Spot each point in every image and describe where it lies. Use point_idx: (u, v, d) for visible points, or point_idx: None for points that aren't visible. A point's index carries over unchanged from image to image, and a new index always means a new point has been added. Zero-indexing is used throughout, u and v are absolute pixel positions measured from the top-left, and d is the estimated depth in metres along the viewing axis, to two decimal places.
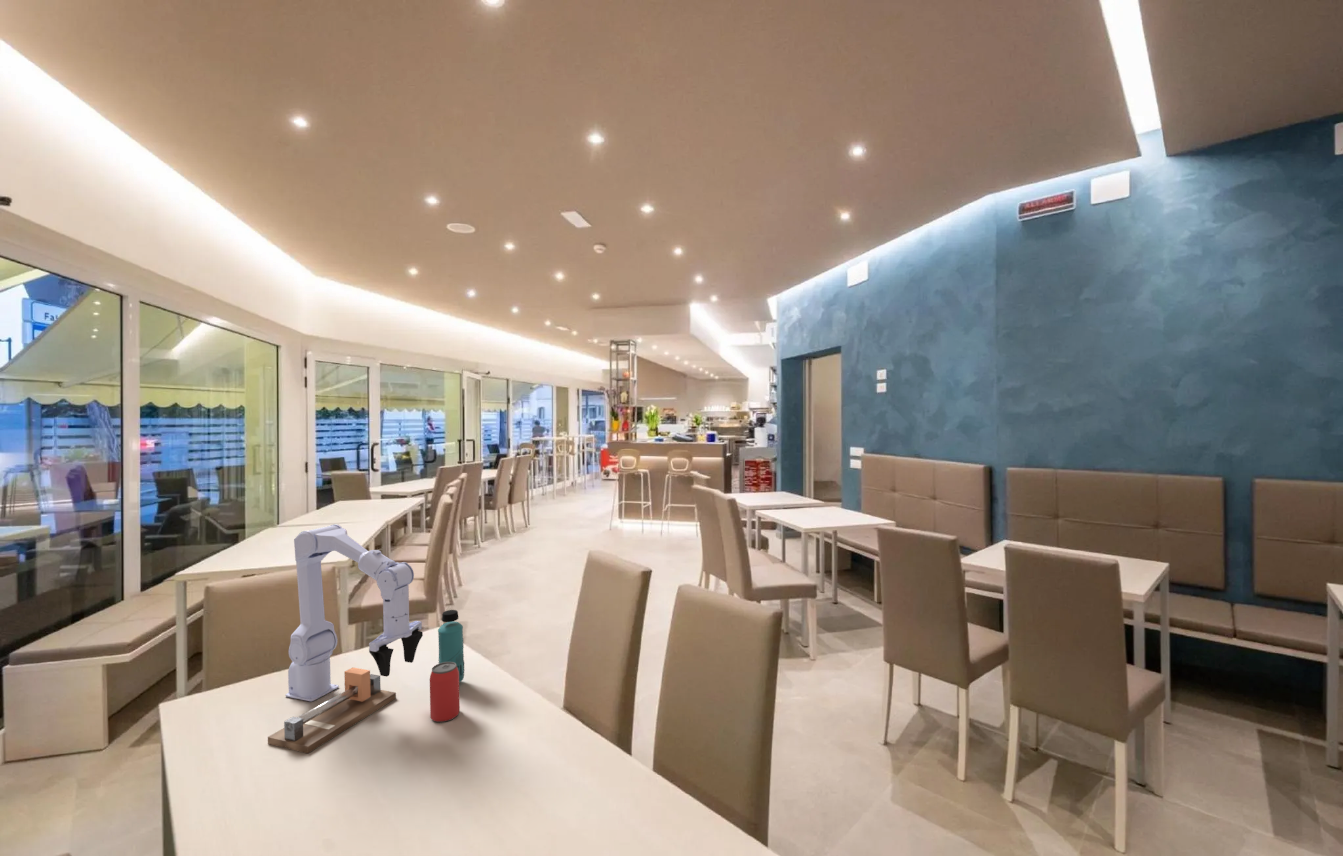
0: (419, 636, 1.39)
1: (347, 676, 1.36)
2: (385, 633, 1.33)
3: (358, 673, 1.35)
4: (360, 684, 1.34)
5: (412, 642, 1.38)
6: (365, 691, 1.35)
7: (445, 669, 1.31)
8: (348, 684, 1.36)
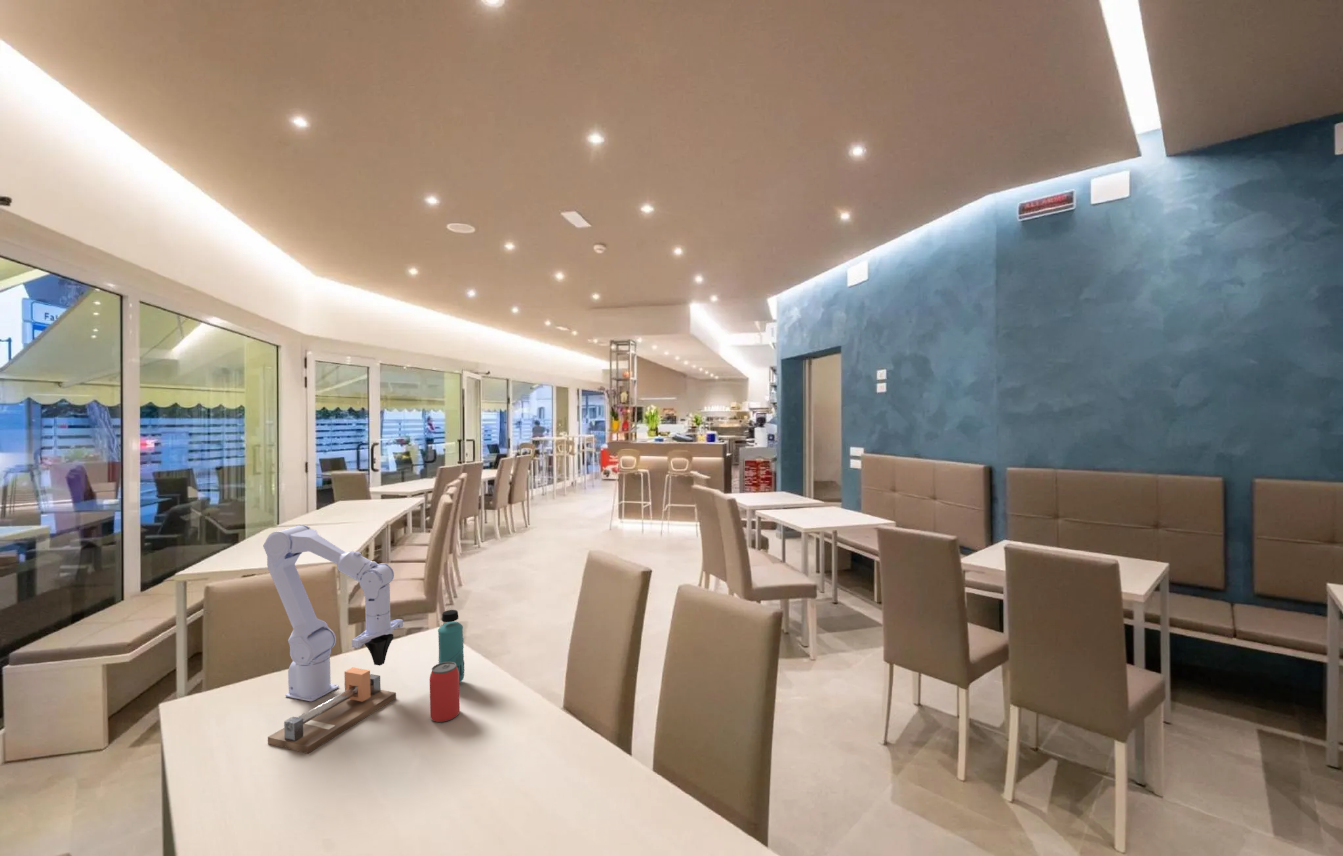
0: (390, 638, 1.43)
1: (347, 676, 1.36)
2: (367, 630, 1.40)
3: (358, 673, 1.35)
4: (360, 684, 1.34)
5: None
6: (365, 691, 1.35)
7: (445, 669, 1.31)
8: (348, 684, 1.36)
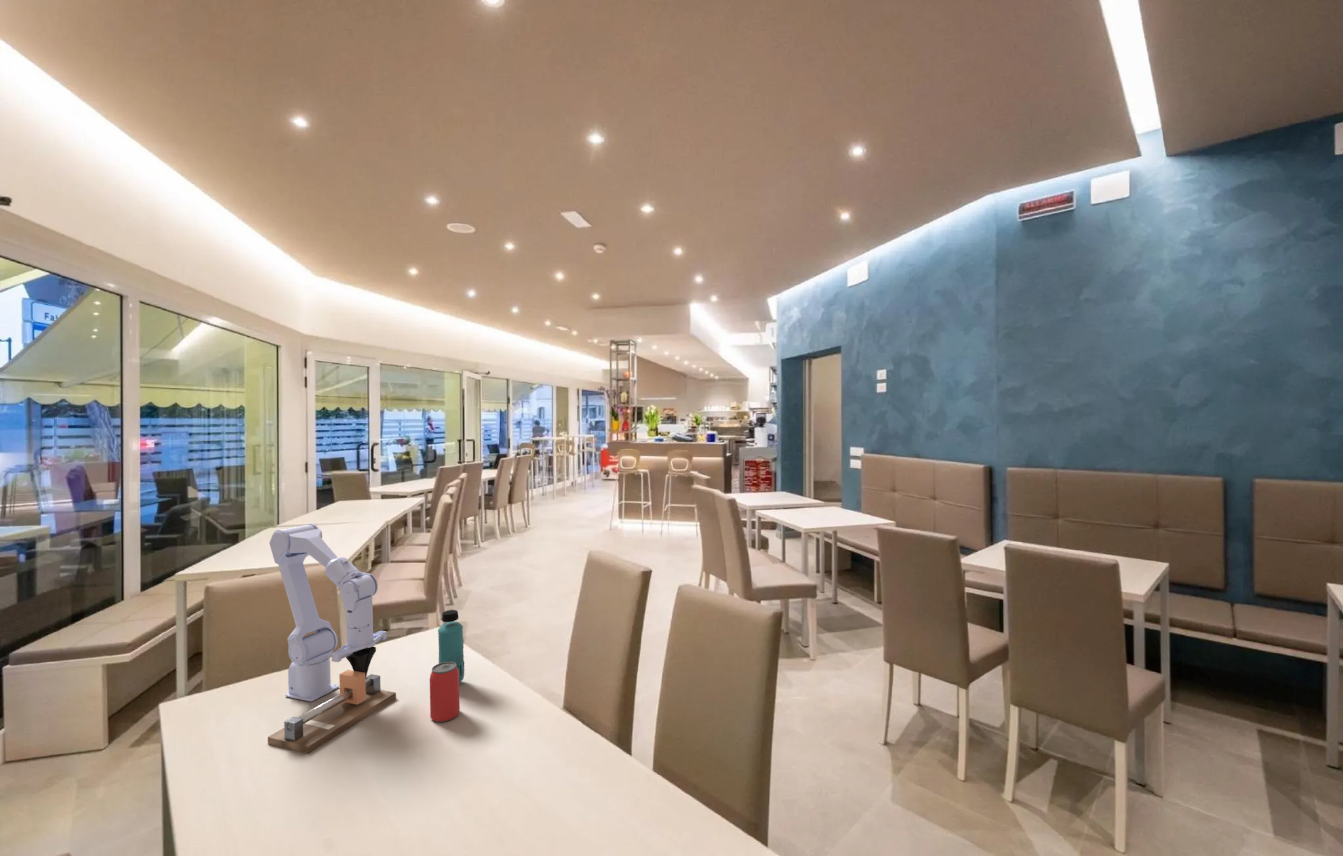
0: (372, 652, 1.37)
1: (342, 679, 1.34)
2: (348, 643, 1.35)
3: (353, 676, 1.33)
4: (355, 687, 1.33)
5: None
6: (360, 694, 1.34)
7: (445, 669, 1.31)
8: (343, 687, 1.34)
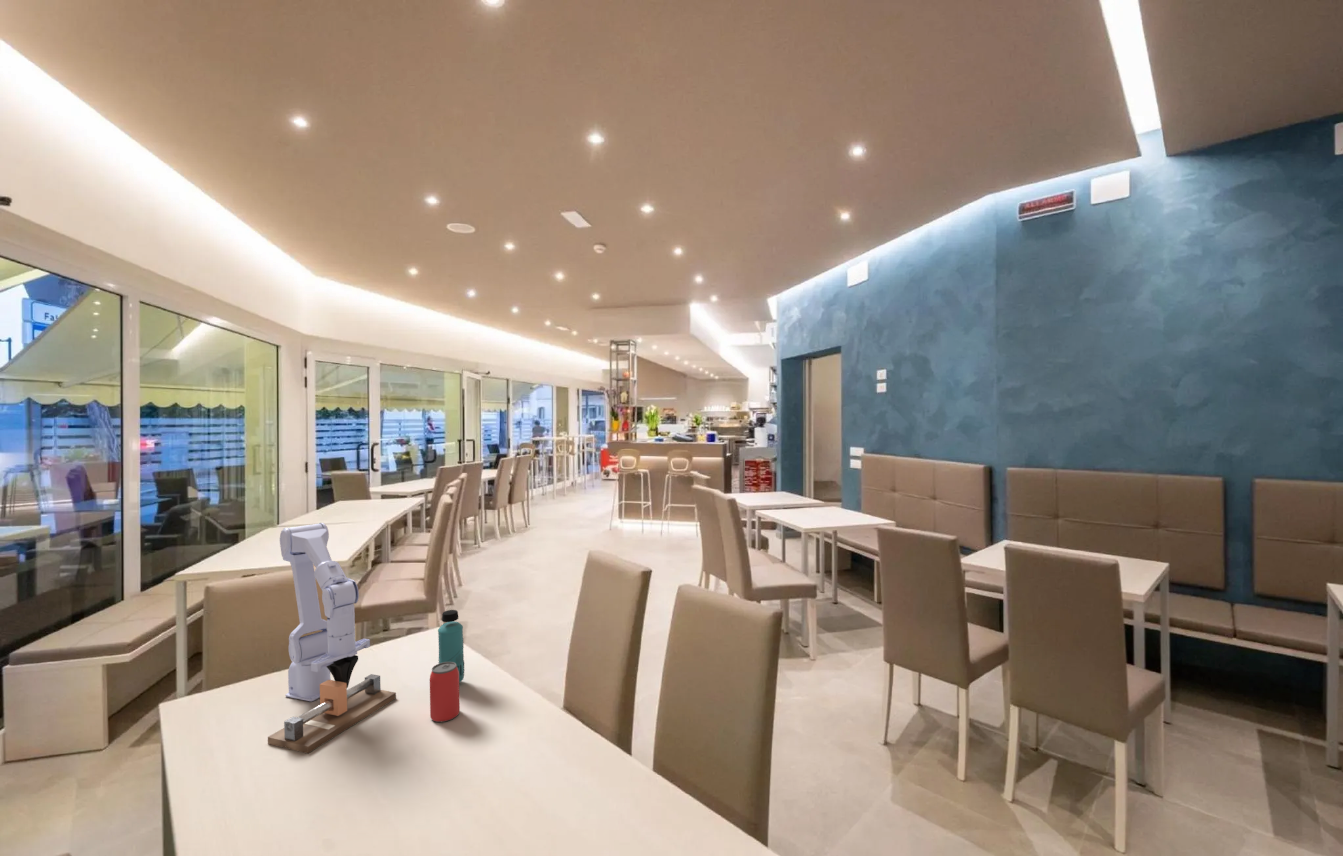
0: (354, 661, 1.32)
1: (322, 689, 1.29)
2: (329, 652, 1.30)
3: (334, 686, 1.28)
4: (336, 697, 1.28)
5: None
6: (341, 705, 1.29)
7: (445, 669, 1.31)
8: (323, 697, 1.29)
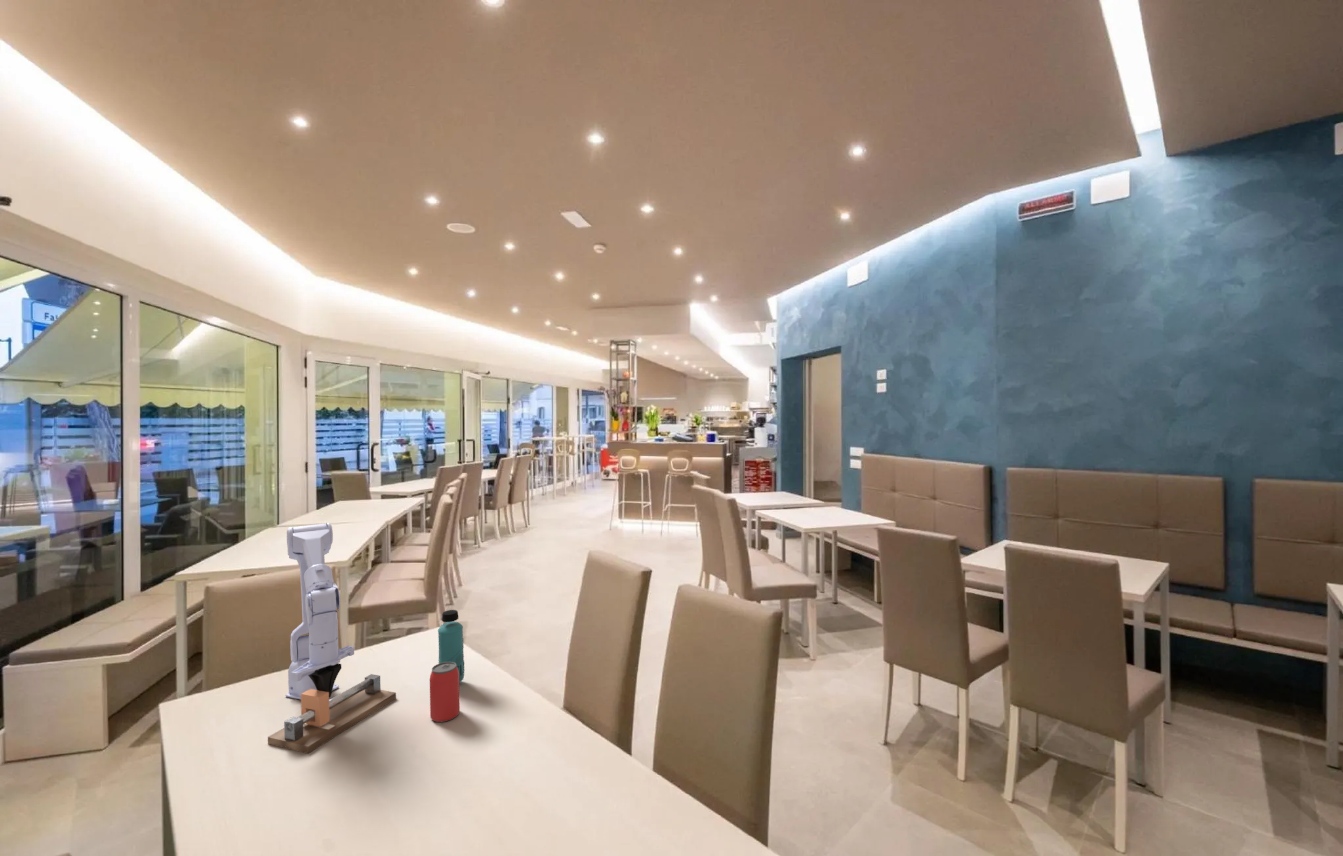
0: (337, 669, 1.28)
1: (304, 699, 1.25)
2: (311, 661, 1.25)
3: (315, 696, 1.24)
4: (317, 708, 1.24)
5: None
6: (323, 715, 1.24)
7: (445, 669, 1.31)
8: (305, 707, 1.25)
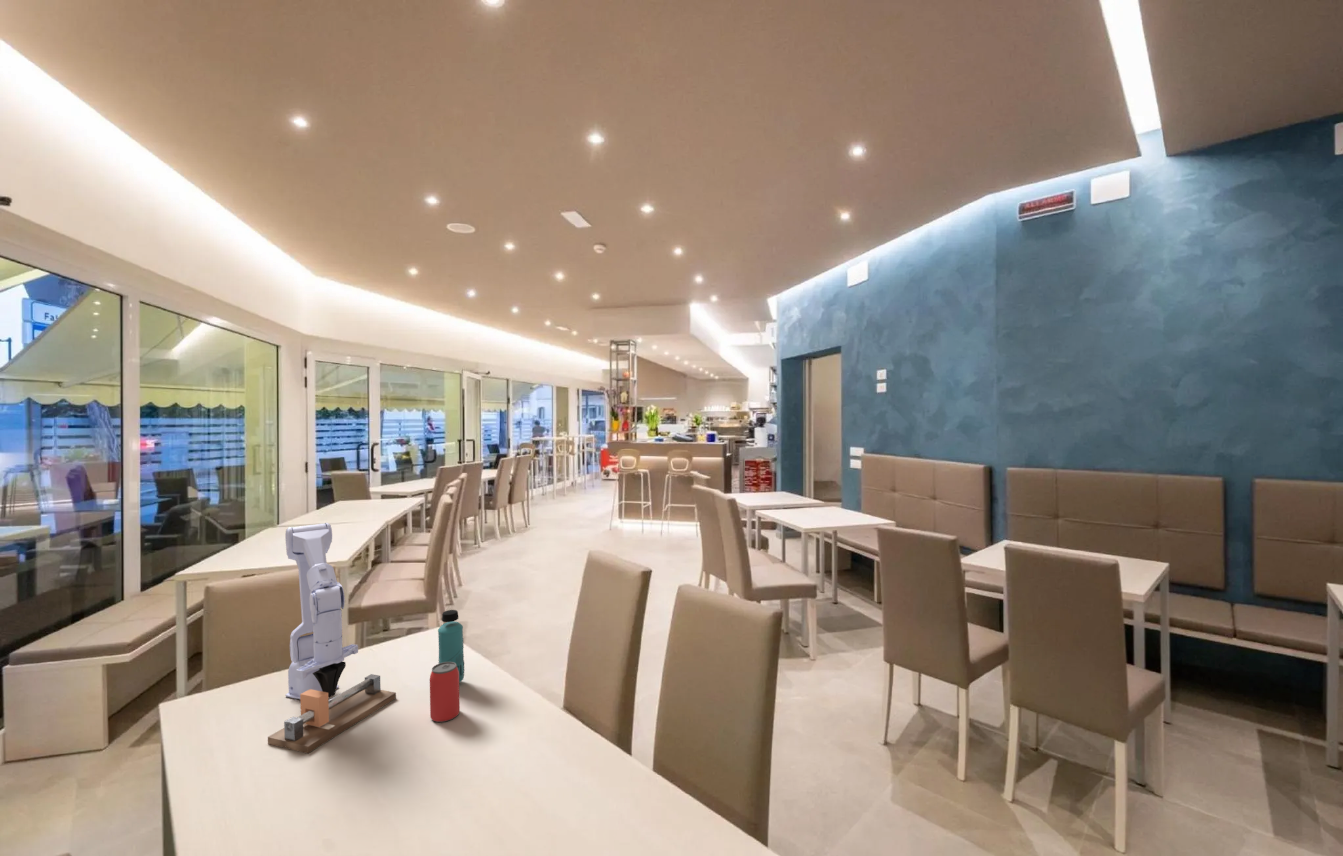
0: (341, 667, 1.29)
1: (303, 699, 1.25)
2: (315, 659, 1.26)
3: (315, 696, 1.24)
4: (317, 708, 1.24)
5: None
6: (322, 715, 1.24)
7: (445, 669, 1.31)
8: (304, 708, 1.25)
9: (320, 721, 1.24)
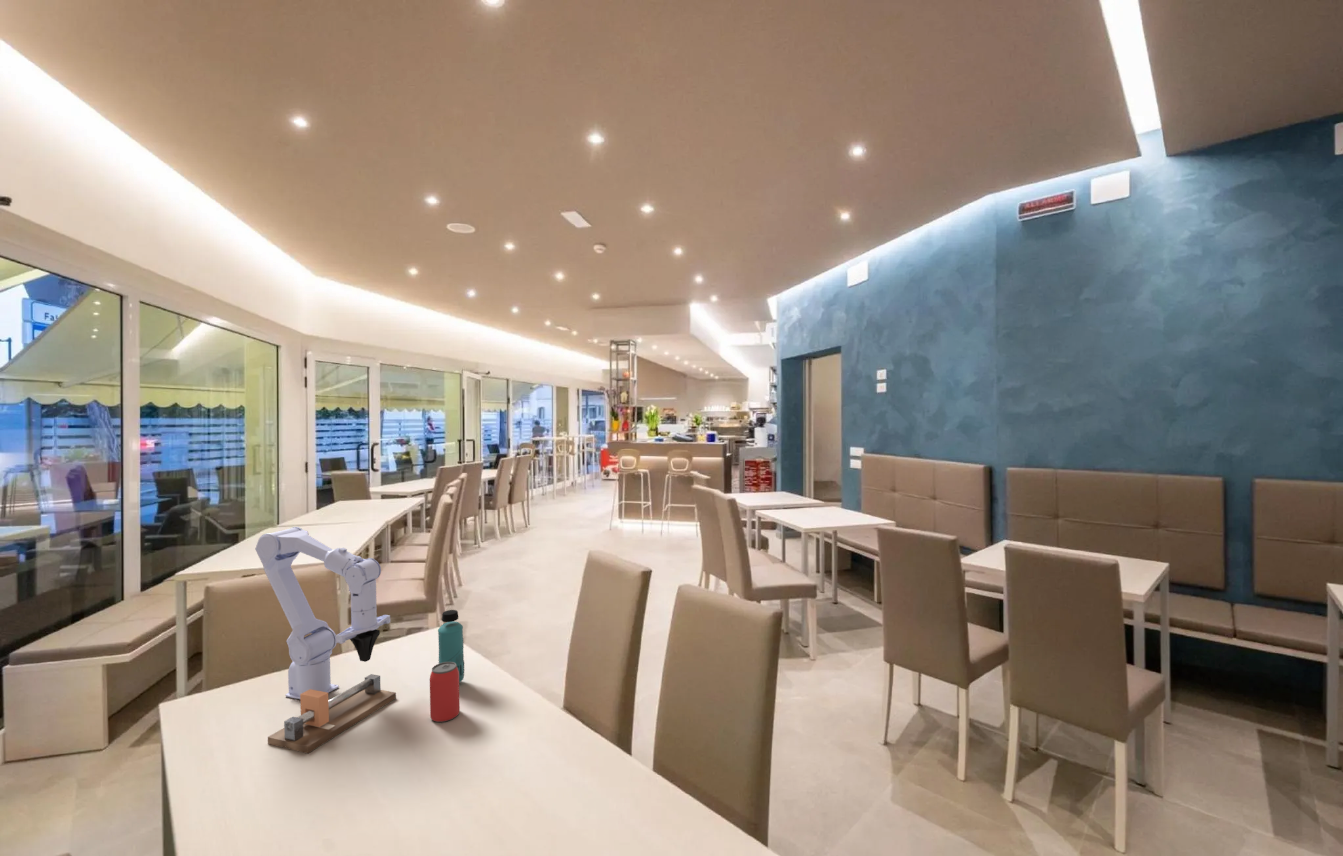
0: (376, 634, 1.41)
1: (303, 699, 1.25)
2: (352, 626, 1.38)
3: (315, 696, 1.24)
4: (317, 708, 1.24)
5: None
6: (322, 715, 1.24)
7: (445, 669, 1.31)
8: (304, 708, 1.25)
9: (320, 721, 1.24)
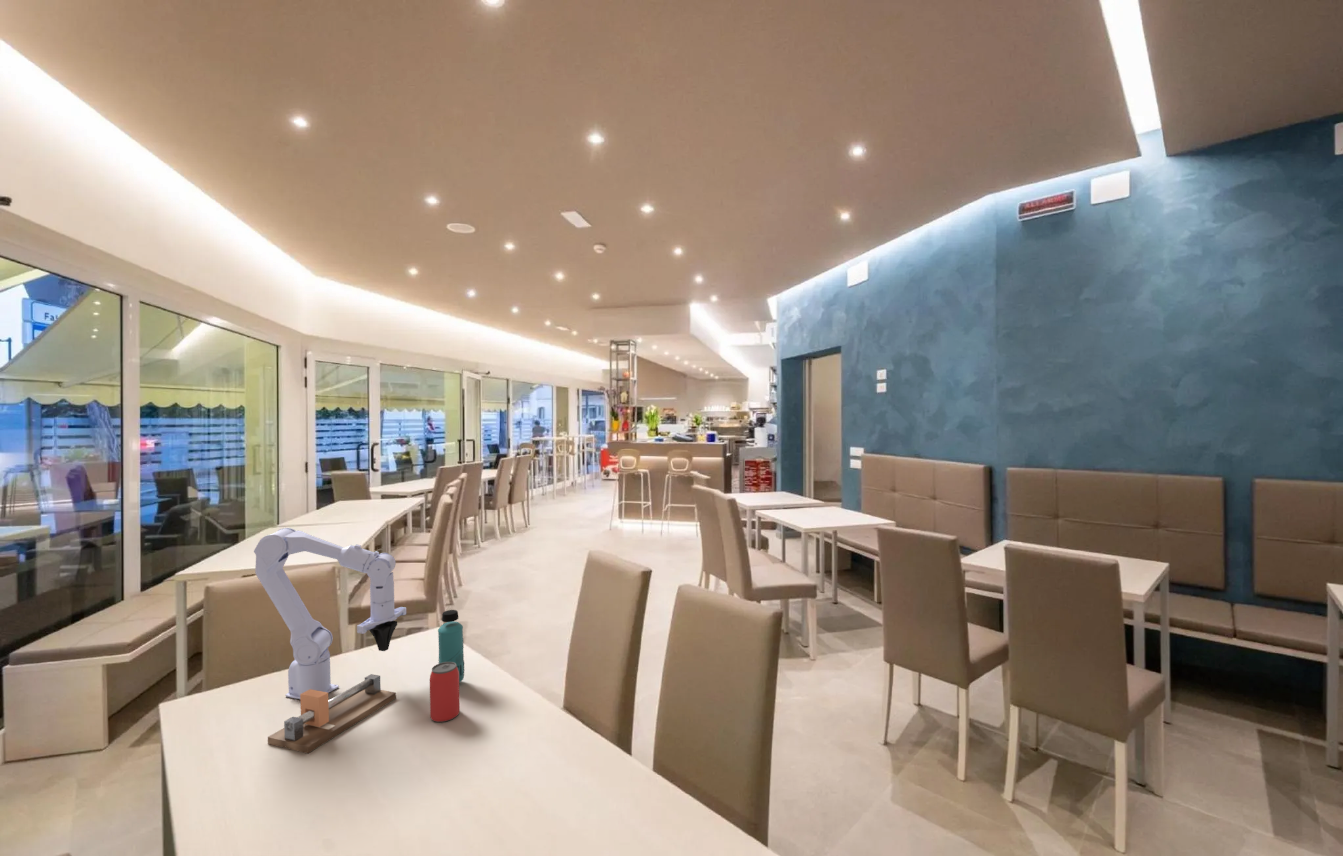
0: (394, 625, 1.48)
1: (303, 699, 1.25)
2: (372, 617, 1.45)
3: (315, 696, 1.24)
4: (317, 708, 1.24)
5: None
6: (322, 715, 1.24)
7: (445, 669, 1.31)
8: (304, 708, 1.25)
9: (320, 721, 1.24)
